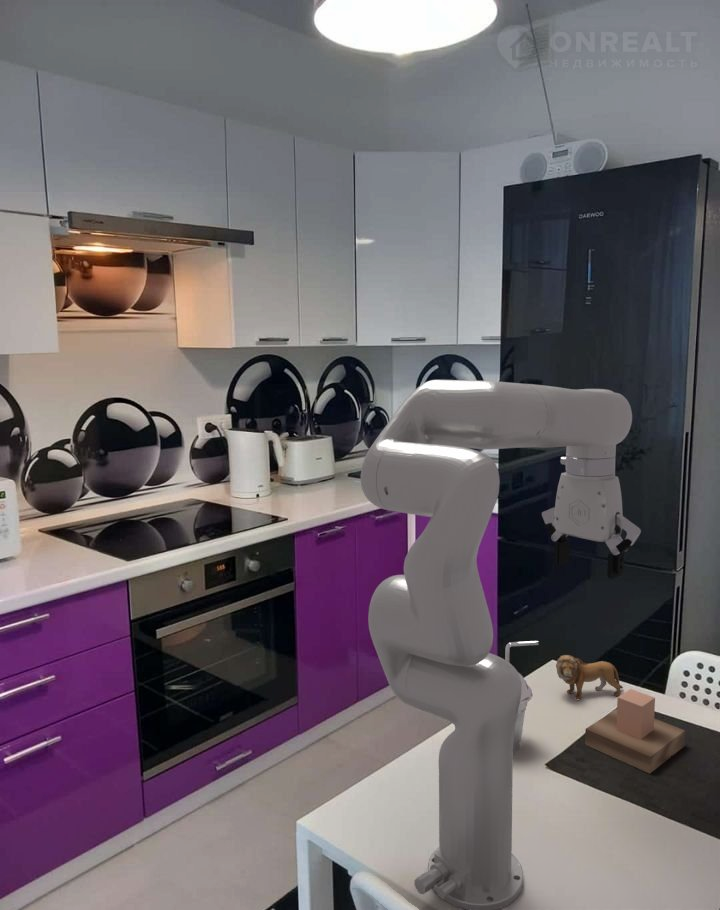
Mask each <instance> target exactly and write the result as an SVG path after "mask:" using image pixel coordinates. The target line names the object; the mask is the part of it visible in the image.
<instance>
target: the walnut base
mask: <svg viewBox="0 0 720 910" xmlns="http://www.w3.org/2000/svg"><path fill="white" fill-rule="evenodd" d="M616 727H617V708H616V709H613V710H612V711H610V712H608V714H606V715H605V716H602V718H600V719H599V720H596V722H594V723H592V724H591V725H589V726H588V727H586V728H584V729H585V732H584V734H585V737H584V745H585V746H587V747H589V748H592V749H593V750H596V751H598V752H601V753H603V754H605V755H606V756H609V757H611V758H614V759H616V760H619V761H620V762H622V763H625V764H628V765H629V766H631V767H634V768H637V769H639V770H640V771H643V772H645V773H647V774H650V775H651V773H653V772H654V771H655V770H657V769H658V768H659V767H660V766H662V765H664V763H666V761H668V760H669V759H671V758H672V757H673V756H674V755H675V754H677V753H678V752H679V751H680V750H682V749H683V748H684V747H685V742H686V741H685V740H686V739H685V738H686V730H685V729H682V728H680V727H678V726H675V725H672V724H671V723H667V722H664V721H663V720H660V719H657V718H655V717H654V730H653V731H651V732H650V733H649V734H647V735H646V736H645V737H643V738H642V739H638V738H636V737H634V736H631V735H629V734H626V733H624V732H621V731H619V730H617V729H616ZM671 756H672V757H671Z"/></svg>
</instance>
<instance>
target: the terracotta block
mask: <svg viewBox="0 0 720 910" xmlns="http://www.w3.org/2000/svg"><path fill="white" fill-rule="evenodd" d="M616 702H617V704H616V705H617V706H616V709H617V727H616V729H617V730H619V731H621V732H624V733H626V734H629V735H631V736H634V737H636V738H638V739H642V738H643V737H645V736H646V735H647V734H649V733H650V732H651V731H653V730H654V718H655V707H656V697H654V696H651V695H649V694H647V693H643V692H641V691H639V690H635V689H632V688H630V689H628V690H627V691H625V692H623V693H622V694H620V696H618V697H617V701H616Z"/></svg>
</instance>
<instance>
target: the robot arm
mask: <svg viewBox="0 0 720 910" xmlns="http://www.w3.org/2000/svg"><path fill="white" fill-rule="evenodd" d="M632 422H633V413H632V408H631V405H630V402H629V401H628V399H627V398H626V397H625V396H624V395H623V394H621V393H619V392H614V391H613V390H610V389H605V388H584V389H583V388H581V389H580V388H579V389H574V388H573V389H571V388H565V387H560V386H559V387H558V386H551V385H544V384H543V385H542V384H533V383H520V382H519V383H518V382H507V381H497V380H495V381H494V380H468V379H466V380H465V379H464V380H463V379H461V380H460V379H455V380H454V379H431V380H428V381H426V382H424V383H422V384H420V385H419V386H418V387H417V388H415V389H414V390H413V391H412V392H411V393H410V394H409V395H408V397H406V399H405V400H403V403H401V405H400V406H399V407H398V409H397V410H396V411H395V412H394V414H393V415H392V417H391V418H390V420H389V421H388V423H387V424H386V425H385V426H384V427H383V429H382V430H381V432H380V433H379V435H378V436H377V438H375V440H374V441H373V443H372V445H371V446H370V448H369V449H368V451H367V453H366V455H365V457H364V459H363V462H362V465H361V471H360V485H361V490H362V493H363V495H364V497H365V498H366V499H367V500H368V501H369V502H370V503H371V504H373V505H374V506H375V507H377V508H378V509H379V508H380V509H382V510H386V511H389V512H394V513H395V512H397V513H401V514H402V513H403V514H409V515H414V516H421V517H429V518H430V519H429V521H428V523H427V525H426V526H425V528H424V530H423V531H422V532H421V533H420V535H419V536H418V538H416V540H414V542H413V544H412V545H411V547H410V548H409V550H408V551H407V554H406V555H405V558H404V561H403V562H404V563H403V574H396V575H391V576H389V577H388V578H385V579H384V580H383V581H381V582H380V584H378V586H377V587H376V588H375V590H374V592H373V594H372V595H371V599H370V603H369V606H368V618H367V619H368V620H367V621H368V630H369V633H370V637H371V638H370V639H371V640H372V645H373V646H374V648H375V651H376V654H377V657H378V659H379V661H380V665H381V667H382V670H383V672H384V675H385V678H386V680H387V682H388V685H389V687H390V690H391V691H392V692H393V694H394V695H395V697H396V698H397V699H398V700H399V701H401V702H403V703H404V704H406V705H408V706H410V707H413V708H414V709H418V710H420V711H421V712H422V711H423V712H425V713H428V714H431V715H434V716H437V717H439V718H440V719H443V720H447V721H449V722H450V723H452V724H453V725H454V730H453V731H452V732H451V733H449V734H448V736H447V737H446V738H445V739H444V740H443V741H442V743H441V746H440V749H439V751H438V752H439V753H438V827H439V828H438V833H439V835H438V837H439V839H438V841H439V843H438V844H439V846H438V847H437V848H436V849H435V850H433V852H432V854H431V856H430V857H429V859H428V862H427V871H426V872H424V873H423V874H421V875H419V876H418V877H416V878H415V880H414V887H415V889H416V891H417V892H418V893H419V894H420V895H425V894H426V893H428V892H429V891H430V890H431V889H433V891H434V892H435V893H436V894H437V895H438V897H439V898H440V899H443V900H444V901H446V902H447V903H449V904H451V905H453V906H455V907H457V908H460V909H464V910H498V909H501V908H504V907H506V906H507V905H510V904H511V903H513V902H514V901H515V900H516V899H517V898H518V896H519V895H520V894H521V892H522V890H523V886H524V871H523V867H522V864H521V862H520V861H519V860H518V858H517V857H516V856H515V855H514V853H512V849H513V848H512V847H513V846H512V845H513V843H512V842H513V765H514V763H513V760H514V759H513V757H514V756H513V755H514V751H513V741H514V731H515V724H516V719H517V714H518V709H519V705H520V699H521V691H522V685H521V679H520V676H519V674H518V673H519V671H518V670H517V669H516V667H515V666H514V665H512V664H511V663H510V661H509V662H507V661H506V660H505V659H504V658H502V657H500V656H498V655H496V654H493V653H490V652H491V650H492V647H493V641H494V627H493V623H492V617H491V614H490V610H489V607H488V604H487V603H488V602H487V600H486V596H485V592H484V588H483V585H482V581H481V578H480V572H479V569H478V563H477V562H478V561H477V557H478V553H479V547H480V546H481V542H482V539H483V537H484V535H485V532H486V530H487V527H488V524H489V521H490V519H491V516H492V515H493V511H494V510H495V509H494V508H495V507H496V504H497V500H498V496H499V493H500V481H501V480H500V474H499V473H500V472H499V469H498V467H497V464H496V462H495V461H494V460H493V459H492V458H491V457H490V456H489V455H487V454H486V453H484V452H482V451H480V450H503V449H504V450H505V449H516V448H517V449H518V448H519V449H520V448H542V449H543V448H559V447H560V448H561V447H566V450H565V456H561V457H560V461H559V462H560V464H561V465H564V466H565V471H564V472H561V474H560V477H559V481H558V485H557V491H556V496H555V503H554V504H555V506H553V507H551V508H549V509H547V510H544V511H542V512H541V517H542V519H543V521H544V524H545V529H546V530H547V532H548V533H549V534H550V536H551V537H550V539H551V540H552V541H553V542H554V550H553V551H554V552H553V553H554V554H553V556H554V557H553V558H554V564H555V565H556V566H557V567H558V566H562V565H563V564H564V565H565V564H567V563H568V562H570V542H571V541H570V539H569V538H567V537H568V536H569V537H575V538H580V539H584V540H589V541H593V542H598V543H599V542H600V543H603V542H604V543H605V544H606V547H608V549H609V550H610V552H611V553H609V554H608V555H607V571H606V572H607V573H606V574H607V579H610V580H613V579H615V578H618V577H620V576H621V575H622V573H623V572H624V564H625V563H624V559H625V552H627V551H628V550H630V548H632V547H633V546H634V545H635V544H636V541H637V539H638V538H639V536H640V534H641V532H642V530H641V528H640V527H638V526H637V525H636V524H635V523H633V522H631V520H629V519H628V518H627V517H626V516H624V515H623V512H624V511H623V499H622V498H623V497H622V490H621V484H620V479H619V476H616V451H617V450H616V449H617V445H618V444H619V443H622V441H623V440H625V439H626V437H627V436H628V434H629V432H630V430H631V427H632ZM476 449H477V450H476ZM623 530H624V531H625V532H626V536H625V538H624V539H623V538H622V536H621V535H622V532H623Z"/></svg>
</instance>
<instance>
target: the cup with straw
mask: <svg viewBox="0 0 720 910" xmlns="http://www.w3.org/2000/svg"><path fill="white" fill-rule="evenodd" d="M539 645H540V643H539V640H529V641H528V640H527V641H513V642H508V643H507V644H506V646H505V652H504V653H505V655H504V656H505V657H504V658H505V659H504V660H506V661H507V662H509V663H510V648H511V647H523V646H524V647H525V646H526V647H527V646H539ZM518 674H519V676H520V679H521V685H522V691H521V699H520V705H519V709H518V714H517V719H516V724H515V731H514V741H513V752H516V751H519V750H520V748H521V744H520V743H521V742H522V734H523V730H524V729H523V727H524V720H525V714H526V711H527V706H528V703H529V702H530V701H531V700H532V699H533V696H534V695H533V691H532V687H530V685H529V684H528V683H527V681H526V680H525V678H524V676H523V675H522V674H521V673H520V672H518Z"/></svg>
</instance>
